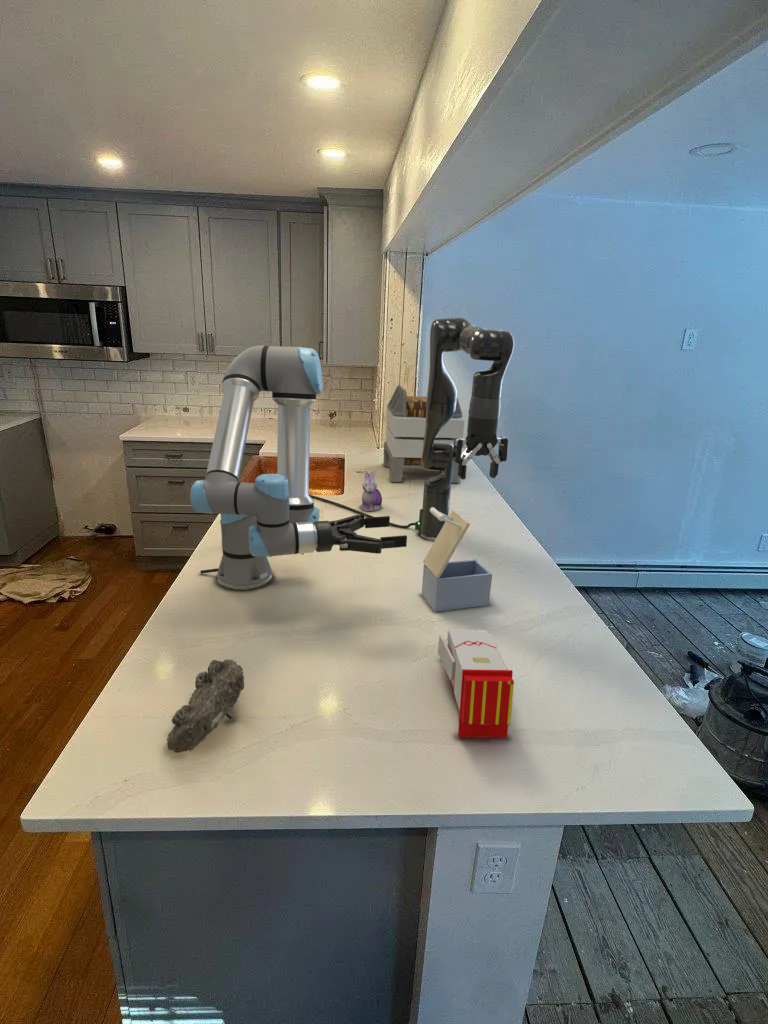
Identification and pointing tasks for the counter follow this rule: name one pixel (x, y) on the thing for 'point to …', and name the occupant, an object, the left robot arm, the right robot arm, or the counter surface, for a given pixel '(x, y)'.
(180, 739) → the fossil
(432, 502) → the right robot arm
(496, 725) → the toy
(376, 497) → the figurine
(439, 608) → the chest
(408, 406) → the grey crate
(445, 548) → the lid
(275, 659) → the counter surface
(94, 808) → the counter surface
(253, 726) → the counter surface
